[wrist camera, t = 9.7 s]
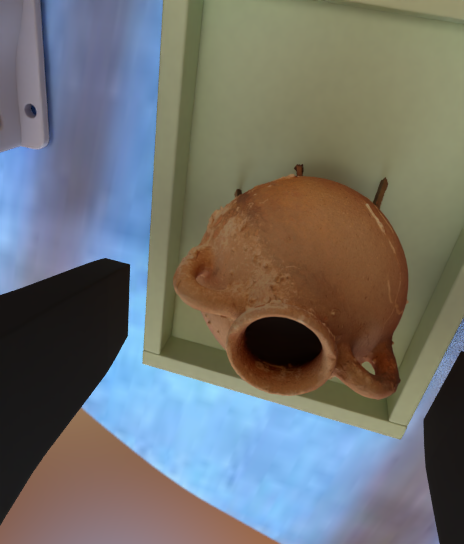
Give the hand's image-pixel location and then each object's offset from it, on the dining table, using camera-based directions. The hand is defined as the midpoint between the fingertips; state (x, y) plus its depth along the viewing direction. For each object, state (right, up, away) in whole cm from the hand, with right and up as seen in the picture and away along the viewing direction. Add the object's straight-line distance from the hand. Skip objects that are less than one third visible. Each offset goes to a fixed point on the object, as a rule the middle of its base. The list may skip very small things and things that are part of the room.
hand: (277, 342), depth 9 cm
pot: (+2, +3, +7) cm, 8 cm away
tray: (+2, +4, +7) cm, 8 cm away
